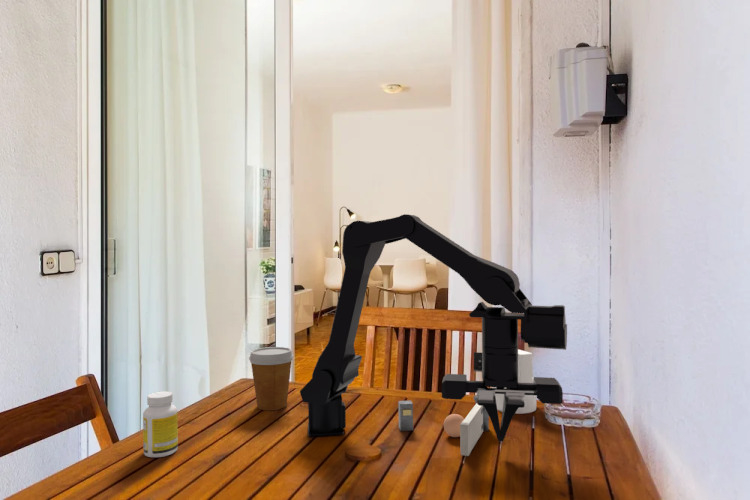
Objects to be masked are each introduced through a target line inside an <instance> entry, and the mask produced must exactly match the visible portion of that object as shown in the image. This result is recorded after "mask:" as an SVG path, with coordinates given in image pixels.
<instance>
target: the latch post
mask: <svg viewBox="0 0 750 500" xmlns="http://www.w3.org/2000/svg"><path fill="white" fill-rule="evenodd" d="M397 409H398V429H399V431H400V432H405V431H409V432H410V431H414V403H413V401H412V400H398V408H397Z"/></svg>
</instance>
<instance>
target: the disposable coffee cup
mask: <svg viewBox="0 0 750 500" xmlns="http://www.w3.org/2000/svg"><path fill="white" fill-rule="evenodd" d="M294 355H295V354H293V351H292V348H289V347H284V346H269V347H261V348H256V349H253V350H251V352H250V355H249V356H248V360H249V361H250V363H251V364H250V365H251V372H252V378H253V386H254V391H255V393H254V394H255V398H256V407H257V409H259V410H263V411H276V410H281V409H284V408H286V407H287V406H288V397H289V396H288V395H289V388H290V379H291V378H290V377H291V371H292V370H291V369H292V362H293V358H294Z"/></svg>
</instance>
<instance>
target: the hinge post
mask: <svg viewBox="0 0 750 500" xmlns="http://www.w3.org/2000/svg"><path fill="white" fill-rule="evenodd" d="M473 401H475V405H476V403H477V404H478V395H477V394H476V395H473ZM475 405H474V406H475ZM489 422H490V417H489V415H488V413H487V411H486V409H485V407H484V406H483V432H489V429H490V426H489V424H490V423H489Z"/></svg>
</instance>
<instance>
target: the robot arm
mask: <svg viewBox="0 0 750 500" xmlns="http://www.w3.org/2000/svg"><path fill="white" fill-rule="evenodd" d="M342 235H343V236H342V250H341V252H342V257H343V261H344V262H343V263H344V271H343V272H344V273H343V277H342V282H341V285H340V290H339V294H338V299H337V303H336V309H335V312H334V317H333V322H332V324H331V325H332V326H331V331H330V334H329V340H328V343H327V345H326V346H325V347H324V349H323V351H322V352H321V354H320V355H319V357H318V359H317V361H316V364H315V366H314V369H313V371H312V374H311V379H309V381H308V382H307V383H306V384H305V385H304V386H303V387H301V389H300V390H299V394H300V397H301V400H302V402H303V403H307V404H308V406H307V407H308V408H307V410H308V411H307V412H308V417H307V418H308V423H307V436H308V437H322V436H323V437H325V436H339V435H340V436H341V435H344V434H345V433H344V432H345V431H344V429H345V428H346V425H347V424H346V421H347V419H346V418H347V417H346V416H347V415H346V414H347V413H346V403H345V402H344V401H343V397H342V395H343V394H346V392H347V390H348V387H349V385H351V384H352V383H353V381H354V380H355V378H357V377H359V375H360V373H359V367H360V364H361V362H362V358H363V356H362V355H358V354H356V350H355V340H356V336H357V333H358V327H359V323H360V318H361V315H362V310H363V305H364V301H365V297H366V294H367V293H366V292H367V288H368V284H369V279H370V275H371V272H372V270H373V269H374V267H375V266H376V264H377V262H378V261H379V260H380V258H381V255H382V253H383V250H384V248H385V246H386V244H387V245H388V244H392V243H396V242H398V241H402V240H405V239H406V240H407V241H409V242H411V243H413V245H415V246H416V247H418V248H420V249H421V250H423V251H424V252H426V253H427V254H428V255H430V256H432V257H433V258H435V259H436V260H438V262H440V263H442V264H444V265H445V266H446V267H448V268H449V269H451V270H452V271H453V272H454V273H457V274H458V275H459V276H460V277H462V279H463V280H464V281H465V282H466V284H467V285H468V286H469V287H470V288H471V290H473V291H474V293H475V294H477V295H478V296H479V297H480V298H481V299H482V300H483V301H480V302H479V303H477V304H476V305H477V306H476V307H475V308H474V309H473V310H472V311H471V312H470V313H468V315H469V317H470V318H479V319H481V352H477V351H476V352H475V351H473V372H478V373H479V372H481V379H482V380H468V379H467V378H468V377H467V374H465V373H463V374H461V373H460V374H459V373H446V374H445V375H444V376H443V378H442V381H441V399H444V400H463V399H464V398H465V396H467V393H470V394H471V393H472V394H473V393H474V394H476V395H478V405H480V406H484V407H485V409H486V411H487V413H488V415H489V420H490V422H491V424H492V427H493V430H494V433H495V436H496V439H497V442H504V441H505V438H506V435H507V432H508V429H509V427H510V424H511V422H512V420H513V418H514V416H515V414H516V411H517V409H518V408H523V407H525V403H524V400H523V397H524V398H525V395H536V400H539V402H540V403H541V404H549V405H551V404H552V405H553V404H554V405H560V404H563V403H564V402H563V400H564V398H563V397H564V395H563V394H564V393H563V387H562V386H561V384H560V382H559V381H558V380H557V379H556V378H555V377H541V376H539V377H538V376H533V383H518V349H519V320H520V339H521V341H524V344H527V346H528V348H532V349H533V348H535V349H549V350H551V349H553V350H564V351H565V350H567V342H568V324H567V322H566V321H567V319H566V307H565V305H563V304H561V305H557V304H554V305H533V304H532V302H531V301H530V300H529V298H528V297H527V296H526V295H525V293H524V292H523V291H522V290H521V288H520V281H519V280H520V279H519V277H518V275H517V274H516V273H515V271H513V270H512V269H509V267H508V268H507V267H505V266H504V265H501V264H498V263H495V262H493V261H491V260H487V259H485V258H482V257H480V256H477V255H475V254H474V253H472V252H470V251H469V250H467V249H466V248H464V247H462V246H461V245H460V244H458V243H456V242H455V241H454V240H452V239H451V238H449V237H448V236H446V235H444V234H443V233H441V232H440V231H438V230H437V229H435V228H433V227H432V226H431V225H428V224H427V223H426V222H424V221H423V220H421V217H419V216H418V215H415V214H401V215H399V216H395V217H392V218H386V219H381V220H377V221H365V220H355V221H352V222H351V223H350V224H347V225H346V227H345V228H344V231H343V233H342ZM485 303H487V304H488V305H489V304H490V305H492V306H487V305H486V304H485ZM506 310H507V312H506ZM508 311H509V312H508ZM492 387H496V388H492ZM505 388H506V389H505ZM495 394H504V402H503V412H502V411H501V412H502V413H501V421H500V419H499V410H497V404H496V396H495Z"/></svg>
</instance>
